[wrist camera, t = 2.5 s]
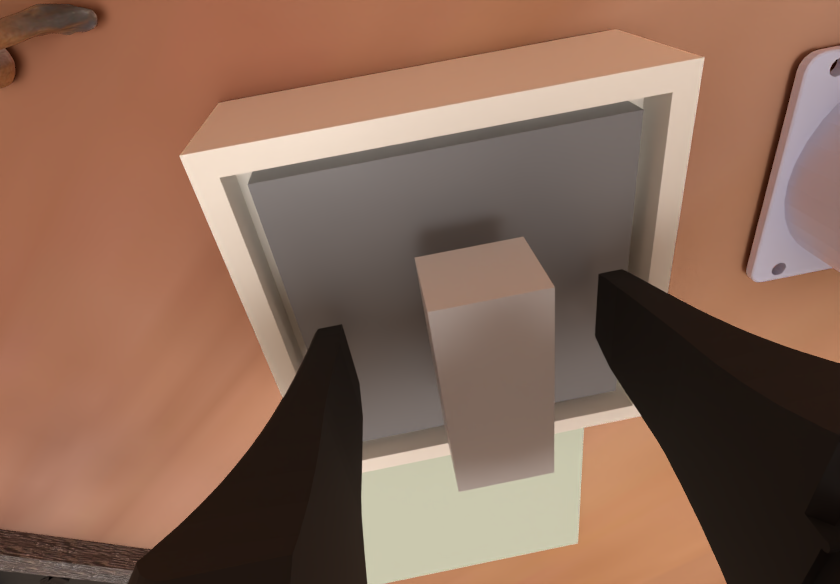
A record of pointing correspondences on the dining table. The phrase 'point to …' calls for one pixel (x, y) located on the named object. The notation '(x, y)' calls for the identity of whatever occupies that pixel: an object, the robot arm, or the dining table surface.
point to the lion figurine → (39, 29)
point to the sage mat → (466, 515)
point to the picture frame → (63, 560)
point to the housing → (431, 117)
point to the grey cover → (464, 275)
